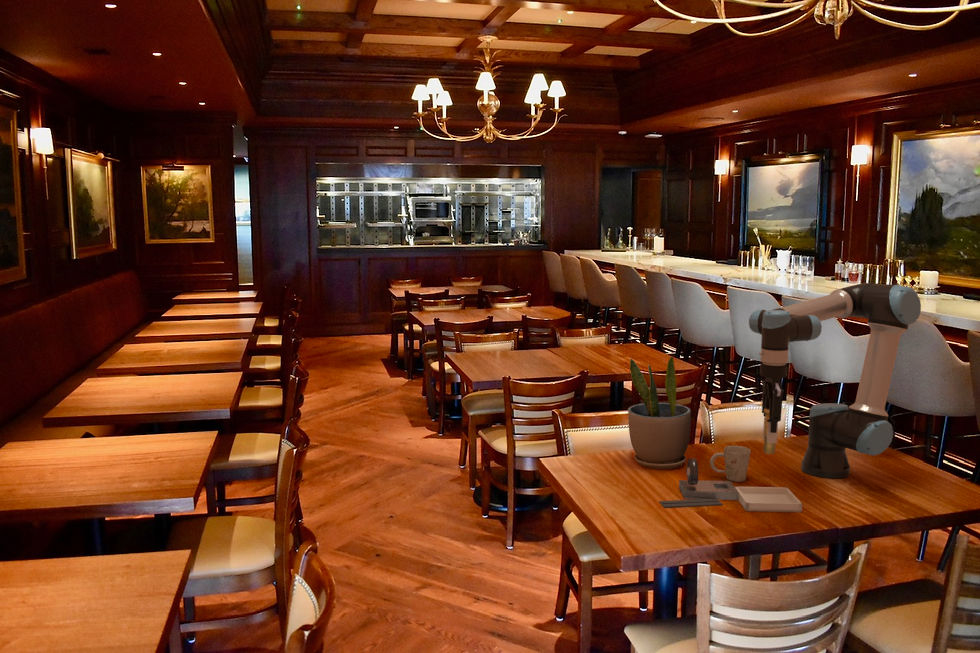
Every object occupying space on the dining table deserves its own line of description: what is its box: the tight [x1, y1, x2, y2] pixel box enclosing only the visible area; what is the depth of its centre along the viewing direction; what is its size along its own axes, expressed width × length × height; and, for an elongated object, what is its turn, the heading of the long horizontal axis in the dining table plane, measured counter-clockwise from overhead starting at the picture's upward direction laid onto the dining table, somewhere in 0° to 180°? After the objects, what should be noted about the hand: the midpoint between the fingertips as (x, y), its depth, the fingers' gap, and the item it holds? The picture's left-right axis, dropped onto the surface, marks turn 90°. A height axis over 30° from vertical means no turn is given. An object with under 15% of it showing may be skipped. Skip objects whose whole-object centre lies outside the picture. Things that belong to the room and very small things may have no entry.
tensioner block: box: [678, 458, 739, 501], centre depth 245 cm, size 16×10×11 cm, turn 87°
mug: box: [709, 445, 751, 483], centre depth 260 cm, size 8×13×10 cm, turn 78°
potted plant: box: [627, 355, 692, 470], centre depth 274 cm, size 21×22×40 cm
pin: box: [763, 408, 776, 455], centre depth 235 cm, size 4×4×13 cm
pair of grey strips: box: [658, 499, 723, 509], centre depth 238 cm, size 18×5×1 cm, turn 97°
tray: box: [735, 486, 803, 513], centre depth 238 cm, size 16×14×2 cm
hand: (769, 440), depth 236 cm, fingers closed on pin, 3 cm apart
